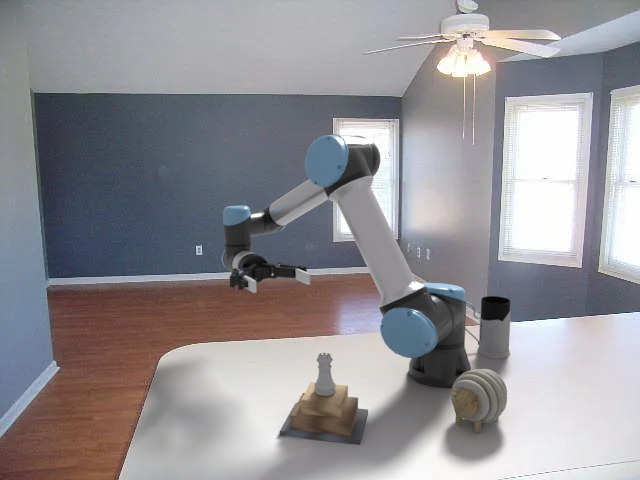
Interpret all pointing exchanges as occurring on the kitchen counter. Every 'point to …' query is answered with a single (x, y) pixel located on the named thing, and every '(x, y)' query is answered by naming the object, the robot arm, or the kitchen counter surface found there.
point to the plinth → (326, 417)
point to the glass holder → (494, 327)
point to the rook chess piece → (324, 376)
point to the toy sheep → (478, 397)
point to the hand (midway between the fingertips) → (282, 283)
